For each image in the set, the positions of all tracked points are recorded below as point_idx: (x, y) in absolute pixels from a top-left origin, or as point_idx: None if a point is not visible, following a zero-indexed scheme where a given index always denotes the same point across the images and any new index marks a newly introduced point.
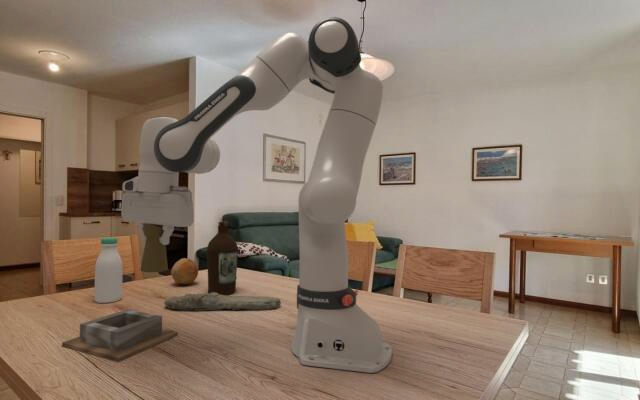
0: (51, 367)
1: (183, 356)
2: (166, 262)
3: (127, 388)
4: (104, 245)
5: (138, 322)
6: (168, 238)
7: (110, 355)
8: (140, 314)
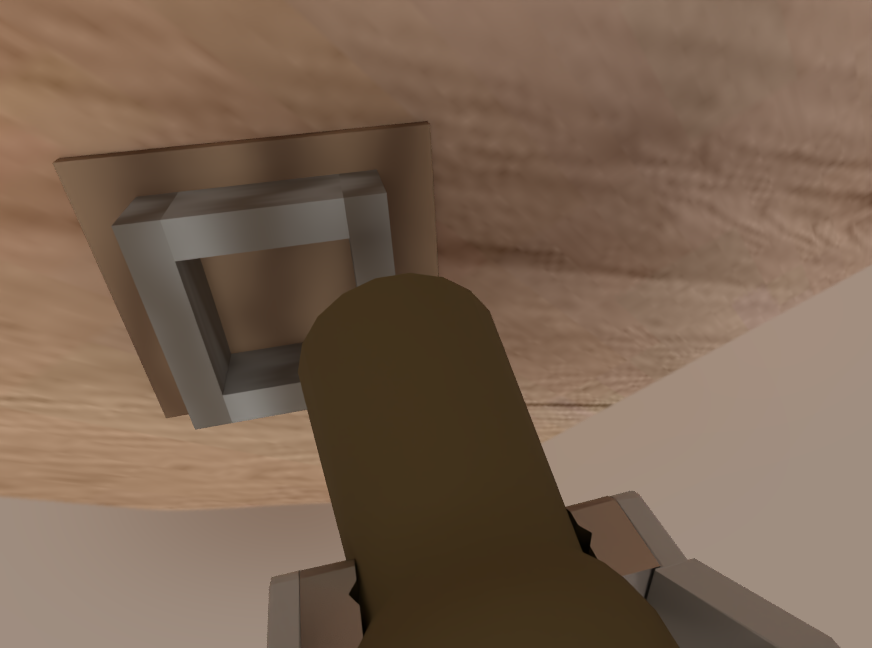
0: None
1: (586, 242)
2: (503, 349)
3: (576, 405)
4: None
5: None
6: (670, 551)
7: None
8: (269, 236)
